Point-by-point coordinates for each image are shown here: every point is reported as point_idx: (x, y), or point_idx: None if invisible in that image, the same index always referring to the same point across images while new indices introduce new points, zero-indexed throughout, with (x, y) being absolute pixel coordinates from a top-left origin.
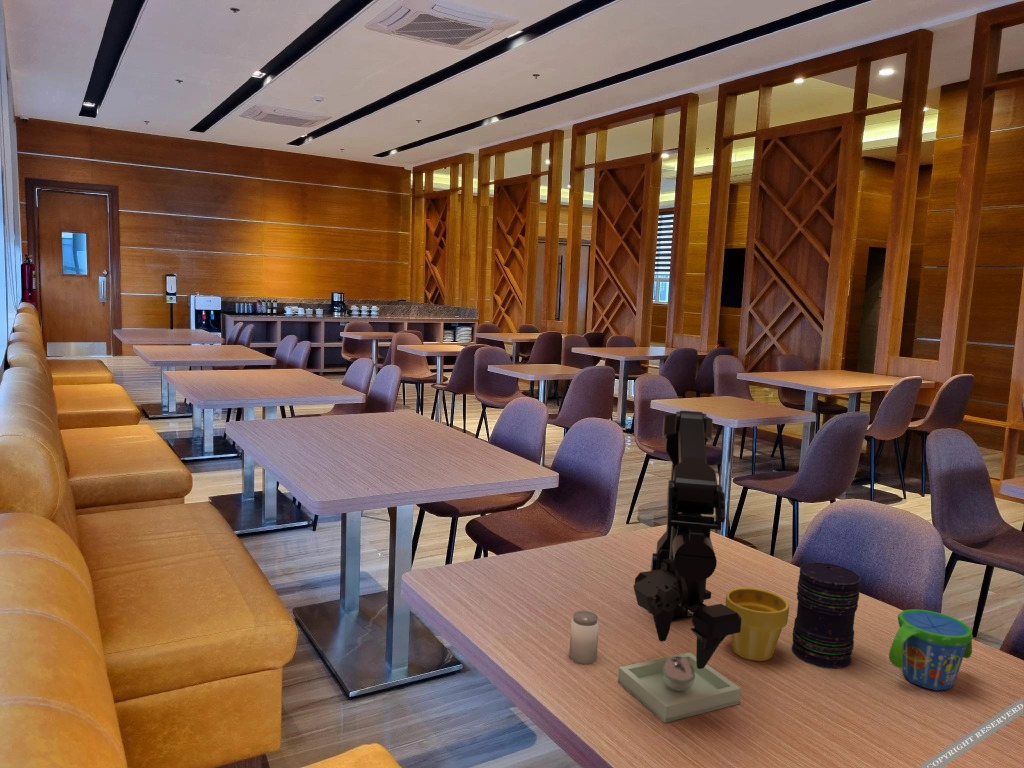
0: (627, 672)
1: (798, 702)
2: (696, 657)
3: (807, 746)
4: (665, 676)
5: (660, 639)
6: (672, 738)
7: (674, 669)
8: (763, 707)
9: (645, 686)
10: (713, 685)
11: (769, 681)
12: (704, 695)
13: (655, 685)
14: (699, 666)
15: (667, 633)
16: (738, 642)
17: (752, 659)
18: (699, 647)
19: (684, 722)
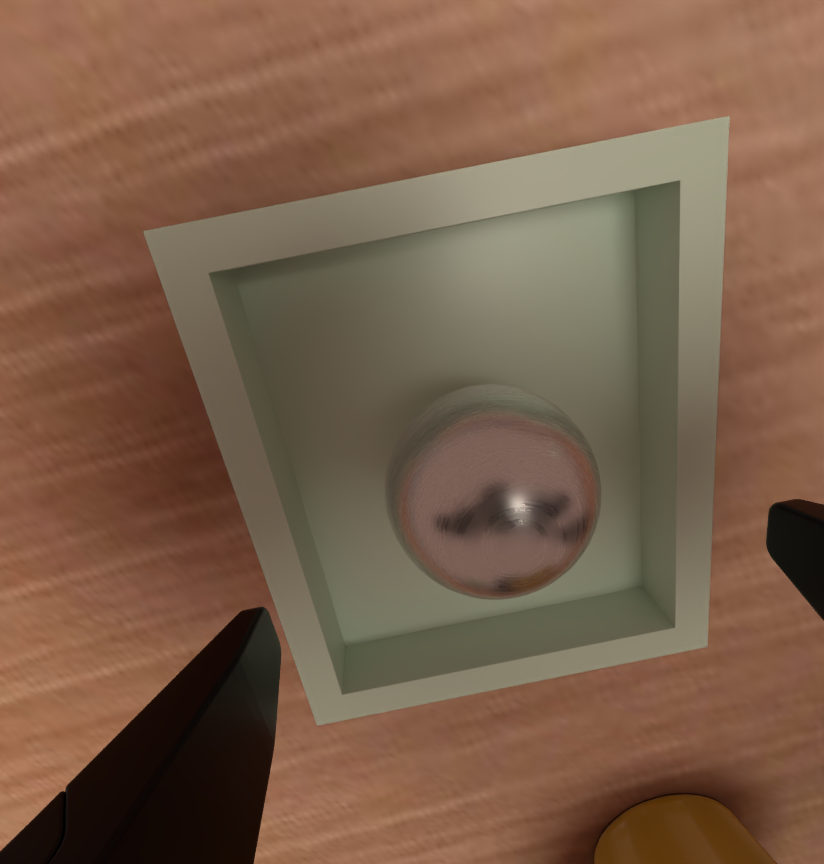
0: (639, 151)
1: (306, 839)
2: (218, 673)
3: (6, 754)
4: (475, 391)
5: (787, 511)
6: (29, 206)
7: (447, 460)
8: (287, 728)
9: (424, 203)
10: (457, 624)
11: (460, 814)
12: (266, 536)
13: (534, 348)
14: (226, 631)
15: (820, 606)
16: (693, 859)
17: (613, 826)
18: (47, 840)
19: None
